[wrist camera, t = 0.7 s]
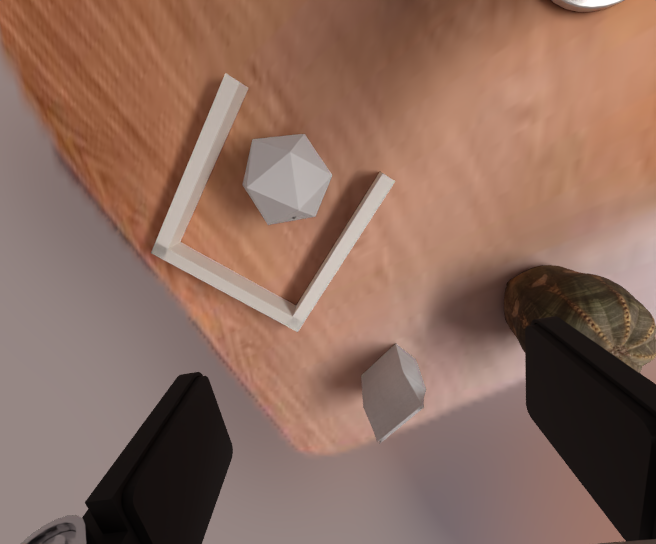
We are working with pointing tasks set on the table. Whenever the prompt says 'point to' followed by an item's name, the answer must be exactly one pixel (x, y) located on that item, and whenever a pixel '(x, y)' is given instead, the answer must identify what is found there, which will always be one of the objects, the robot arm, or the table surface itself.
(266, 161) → the die
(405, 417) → the grey faceted angular block
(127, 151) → the table surface
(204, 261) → the bay
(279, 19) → the table surface
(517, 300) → the shell
